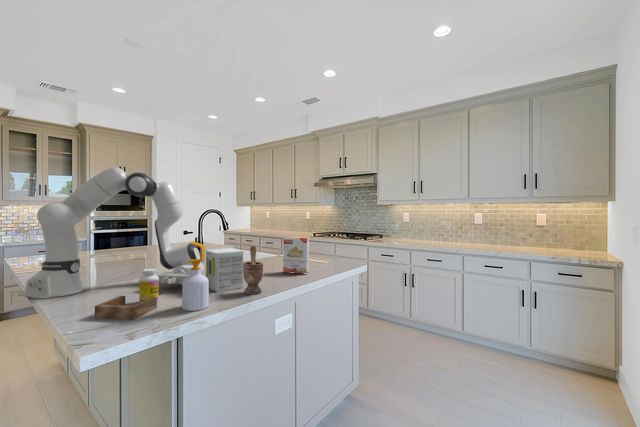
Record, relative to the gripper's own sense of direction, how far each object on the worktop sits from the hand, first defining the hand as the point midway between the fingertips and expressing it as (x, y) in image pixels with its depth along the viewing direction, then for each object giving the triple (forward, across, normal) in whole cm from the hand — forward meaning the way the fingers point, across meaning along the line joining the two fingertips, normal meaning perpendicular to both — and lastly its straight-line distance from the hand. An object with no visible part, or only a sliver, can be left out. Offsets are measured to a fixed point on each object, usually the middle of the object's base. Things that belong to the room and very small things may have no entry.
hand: (165, 281), depth 133 cm
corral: (+23, 0, +5) cm, 24 cm away
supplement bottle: (+11, 0, +6) cm, 12 cm away
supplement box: (-15, +20, +6) cm, 26 cm away
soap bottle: (+15, +21, +6) cm, 26 cm away
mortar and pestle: (-9, +35, +6) cm, 37 cm away
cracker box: (-51, +48, +6) cm, 70 cm away
